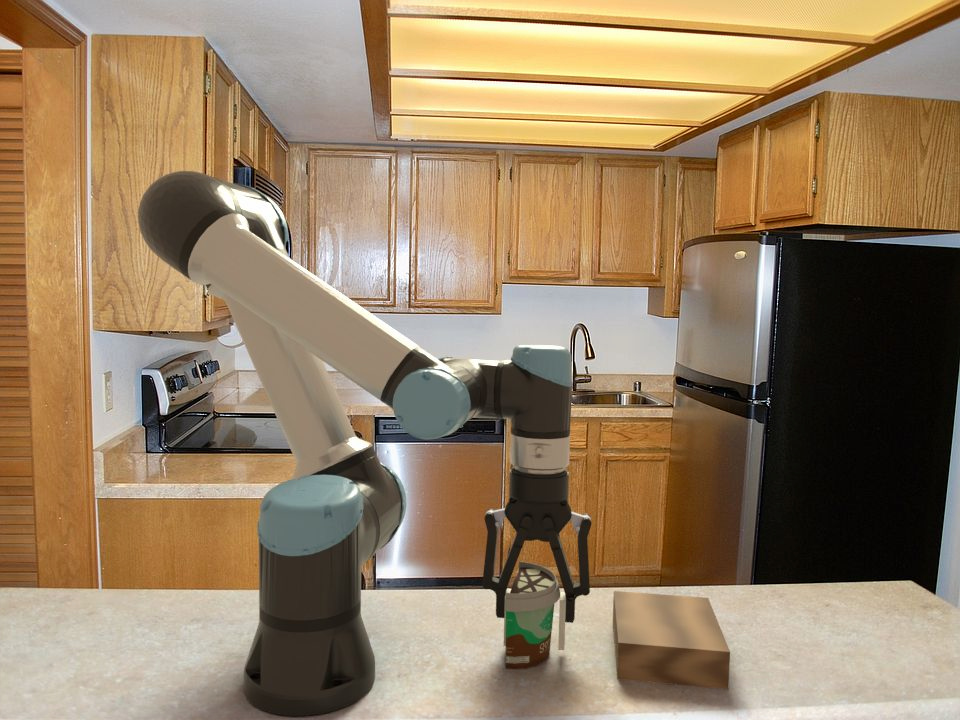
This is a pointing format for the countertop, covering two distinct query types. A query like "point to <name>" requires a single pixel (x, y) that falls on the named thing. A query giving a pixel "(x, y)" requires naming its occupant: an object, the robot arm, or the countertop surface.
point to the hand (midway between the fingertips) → (534, 642)
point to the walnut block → (669, 640)
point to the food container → (530, 616)
